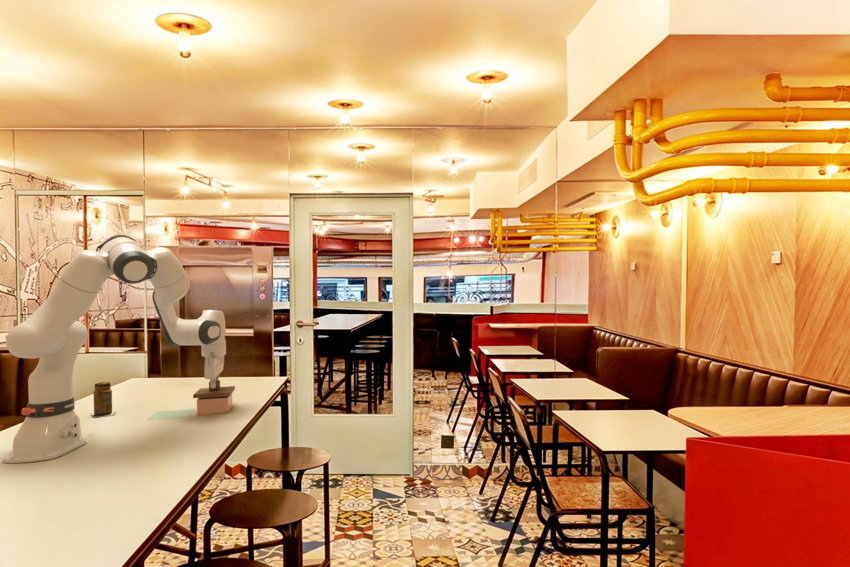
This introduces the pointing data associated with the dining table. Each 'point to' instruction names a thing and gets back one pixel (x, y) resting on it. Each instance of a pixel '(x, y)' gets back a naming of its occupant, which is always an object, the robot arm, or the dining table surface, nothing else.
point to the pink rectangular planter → (214, 405)
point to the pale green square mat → (171, 414)
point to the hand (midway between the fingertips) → (214, 386)
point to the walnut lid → (214, 391)
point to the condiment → (102, 400)
